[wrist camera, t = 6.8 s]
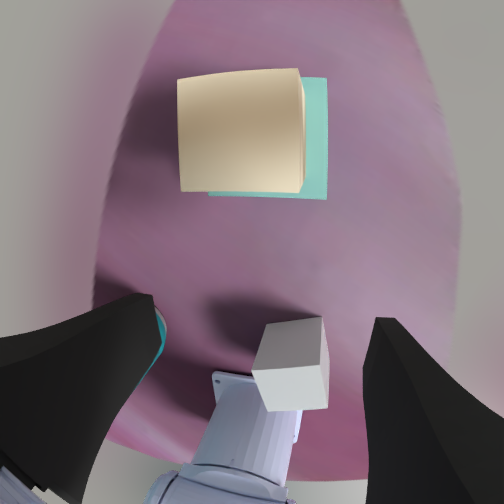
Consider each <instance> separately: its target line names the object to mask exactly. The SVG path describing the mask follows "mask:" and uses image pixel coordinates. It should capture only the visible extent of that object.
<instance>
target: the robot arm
mask: <svg viewBox="0 0 504 504" xmlns="http://www.w3.org/2000/svg"><path fill="white" fill-rule="evenodd" d="M161 345H162V339H161V335H160V330H159V326H158V321H157V316H156V311H155V306H154V301H153V296H152V295H149V294H142V293H135V294H132V295H129V296H126V297H123V298H121V299H118V300H115V301H113V302H111V303H108V304H106V305H103V306H101V307H99V308H96V309H94V310H91V311H89V312H87V313H84V314H82V315H79V316H77V317H74V318H71V319H69V320H66V321H63V322H61V323H58V324H55V325H52V326H49V327H46V328H43V329H40V330H36V331H32V332H28V333H24V334H18V335H13V336H8V337H2V338H0V504H47V503H46V502H44V501H43V500H42V499H41V498H39V497H38V496H37V495H36V494H35V493H33V492H32V491H31V490H32V489H33V487H34V486H37V487H38V488H39V489H40V490H41V491H43V492H45V491H46V490H47V489H50V490H51V491H52V492H54V493H55V494H56V495H58V496H59V497H61V498H62V499H63V500H65V501H66V502H68V503H69V504H82V499H83V495H84V492H85V488H86V484H87V481H88V477H89V475H90V472H91V469H92V466H93V464H94V461H95V458H96V456H97V454H98V451H99V449H100V447H101V445H102V442H103V440H104V438H105V436H106V434H107V432H108V430H109V428H110V426H111V424H112V422H113V420H114V419H115V417H116V415H117V414H118V412H119V411H120V409H121V408H122V406H123V405H124V403H125V402H126V400H127V399H128V398H129V396H130V395H131V393H132V392H133V391H134V389H135V388H136V386H137V385H138V384H139V382H140V381H141V379H142V378H143V376H144V375H145V374H146V372H147V371H148V369H149V368H150V366H151V365H152V363H153V361H154V359H155V357H156V355H157V353H158V351H159V349H160V347H161ZM212 381H213V387H214V394H215V400H216V407H215V410H214V412H213V414H212V417H211V419H210V421H209V423H208V426H207V428H206V430H205V433H204V435H203V437H202V439H201V442H200V444H199V446H198V448H197V450H196V453H195V455H194V457H193V459H192V462H191V464H188V463H184V464H183V466H182V468H181V470H180V472H177V471H174V470H172V471H169V472H167V473H165V474H163V475H161V476H159V477H158V478H157V479H156V481H155V482H154V483H153V485H152V486H151V488H150V489H149V491H148V493H147V495H146V497H145V499H144V502H143V504H296V502H295V501H294V500H291V499H286V498H287V493H288V488H287V487H284V485H285V481H286V476H287V471H288V466H289V461H290V455H291V450H292V444H293V443H296V442H297V438H298V433H299V428H300V423H301V417H302V412H303V410H297V411H272V412H268V411H267V409H266V407H265V404H264V402H263V399H262V397H261V394H260V392H259V389H258V386H257V384H256V381H255V379H254V377H251V376H244V375H238V374H231V373H225V372H220V371H215V372H213V374H212ZM363 401H364V410H365V419H366V429H367V439H368V451H369V473H368V486H367V496H366V504H504V418H502V417H501V416H499V415H498V414H496V413H495V412H493V411H492V410H491V409H489V408H488V407H486V406H485V405H484V404H482V403H481V402H480V401H479V400H477V399H476V398H475V397H474V396H473V395H471V394H470V393H469V392H468V391H466V390H465V389H464V388H463V387H462V386H460V384H458V383H457V382H456V381H455V380H454V379H453V378H452V377H451V376H450V375H449V374H448V373H447V372H446V371H445V370H444V369H443V368H442V367H441V366H440V365H439V364H438V363H437V362H436V361H435V360H434V359H433V358H432V357H431V356H430V355H429V354H428V353H427V352H426V351H425V350H424V348H423V347H422V346H421V345H420V344H419V343H418V342H417V341H416V340H415V339H414V338H413V336H412V335H411V334H410V333H409V332H408V331H407V330H406V329H405V328H404V327H403V326H402V325H401V324H400V323H399V322H398V321H397V320H396V319H395V318H384V317H376V319H375V323H374V327H373V331H372V335H371V339H370V343H369V347H368V351H367V354H366V358H365V362H364V365H363Z"/></svg>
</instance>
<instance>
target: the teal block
mask: <svg viewBox="0 0 504 504" xmlns="http://www.w3.org/2000/svg"><path fill="white" fill-rule="evenodd" d="M300 79H301V82H302V85H303V89H304V93H305V105H306V178H305V180H304V182H303V185H302V187H301V189H300V192H299V193H284V192H239V191H208V196H250V197H283V198H306V199H325V200H327V168H328V107H327V78H311V77H300Z"/></svg>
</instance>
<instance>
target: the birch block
mask: <svg viewBox="0 0 504 504" xmlns="http://www.w3.org/2000/svg"><path fill="white" fill-rule="evenodd" d="M177 110H178V145H179V167H180V184H181V192H200V191H239V192H284V193H299V192H300V189H301V187H302V185H303V182H304V180H305V178H306V105H305V93H304V89H303V85H302V82H301V79H300V75H299V72H298V68H293V69H262V70H247V71H236V72H226V73H217V74H210V75H202V76H196V77H190V78H184V79H178V80H177Z"/></svg>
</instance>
